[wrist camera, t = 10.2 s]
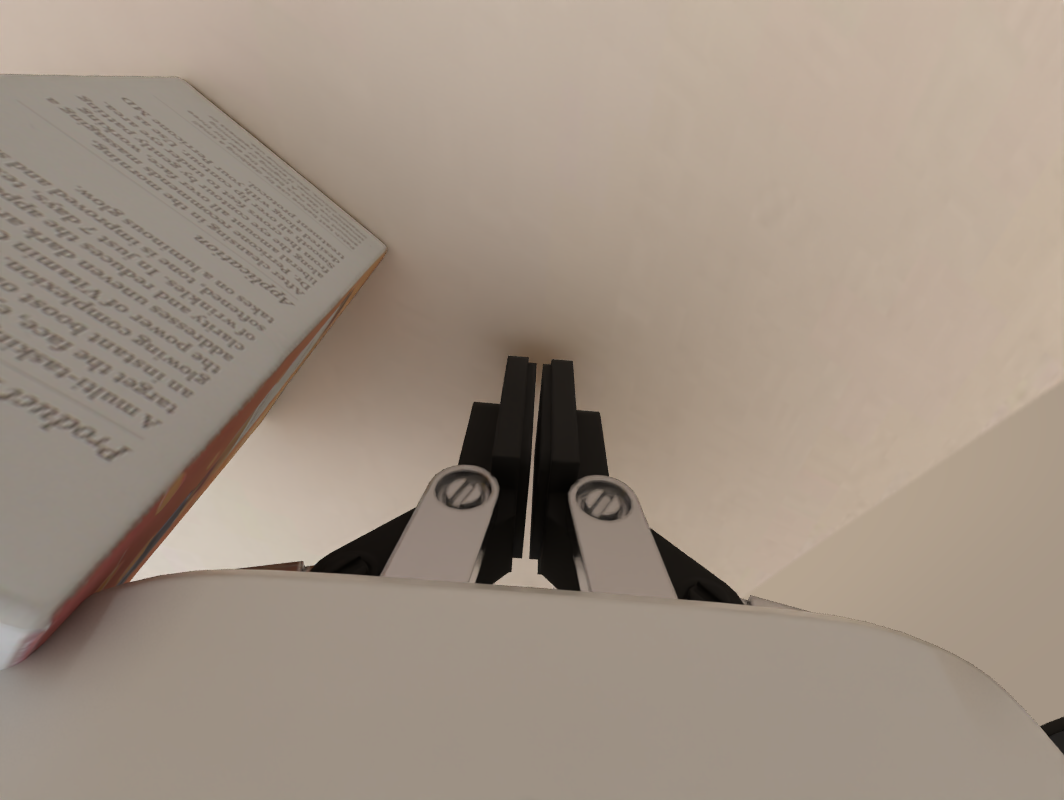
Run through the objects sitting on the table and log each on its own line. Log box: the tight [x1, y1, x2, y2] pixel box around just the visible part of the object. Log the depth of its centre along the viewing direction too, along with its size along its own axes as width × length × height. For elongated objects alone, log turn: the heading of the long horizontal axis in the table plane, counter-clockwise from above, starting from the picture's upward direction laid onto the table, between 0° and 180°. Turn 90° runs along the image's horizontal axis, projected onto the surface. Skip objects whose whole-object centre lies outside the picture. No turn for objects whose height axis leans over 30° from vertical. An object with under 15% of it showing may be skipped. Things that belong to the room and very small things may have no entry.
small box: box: [0, 74, 387, 670], centre depth 9 cm, size 8×6×10 cm
